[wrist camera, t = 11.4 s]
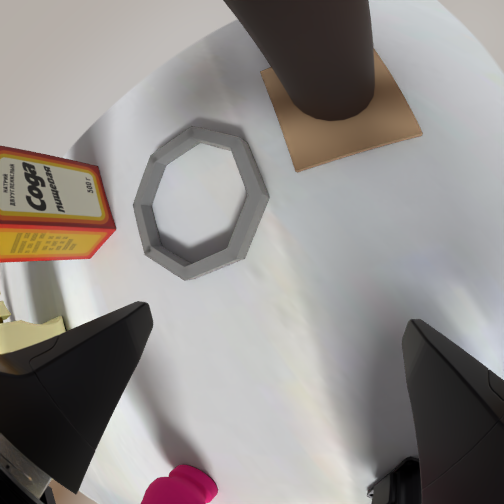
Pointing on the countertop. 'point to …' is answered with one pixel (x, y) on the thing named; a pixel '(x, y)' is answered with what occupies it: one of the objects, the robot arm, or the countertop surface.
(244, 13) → the vinegar
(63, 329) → the slatted curved stool
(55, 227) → the baking soda box
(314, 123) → the pad
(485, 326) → the countertop surface
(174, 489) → the pepper mill
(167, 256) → the octagonal ring
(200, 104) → the countertop surface
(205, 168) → the countertop surface
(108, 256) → the countertop surface
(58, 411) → the robot arm
